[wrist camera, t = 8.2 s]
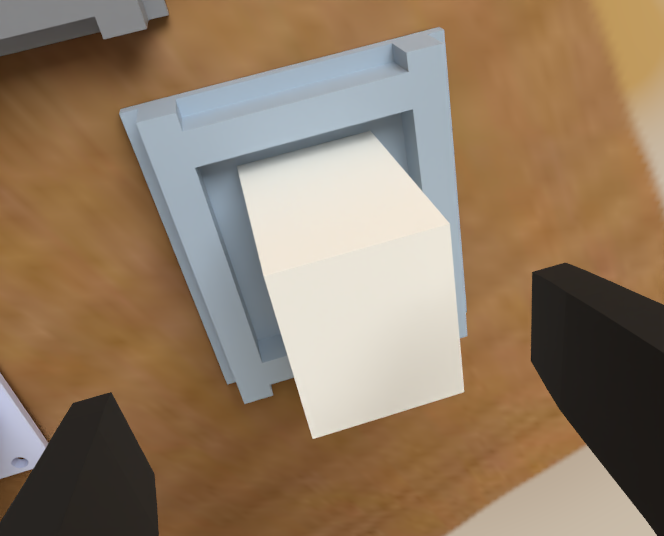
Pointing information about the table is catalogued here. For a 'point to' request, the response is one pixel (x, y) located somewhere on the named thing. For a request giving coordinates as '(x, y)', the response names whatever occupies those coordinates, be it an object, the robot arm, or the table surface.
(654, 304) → the robot arm
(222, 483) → the table surface
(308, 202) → the white rectangular block
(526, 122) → the table surface
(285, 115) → the rear socket
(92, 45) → the table surface
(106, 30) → the front socket
